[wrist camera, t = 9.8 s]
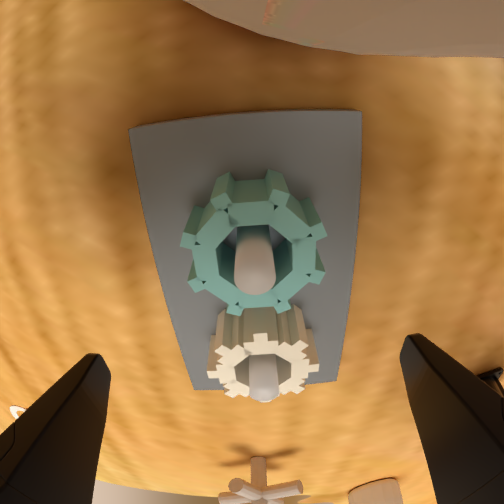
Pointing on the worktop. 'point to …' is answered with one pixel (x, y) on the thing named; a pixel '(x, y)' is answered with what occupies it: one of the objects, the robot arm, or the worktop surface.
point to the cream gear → (262, 348)
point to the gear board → (249, 158)
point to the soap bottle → (377, 493)
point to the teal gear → (247, 214)
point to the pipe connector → (259, 488)
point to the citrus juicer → (374, 24)
